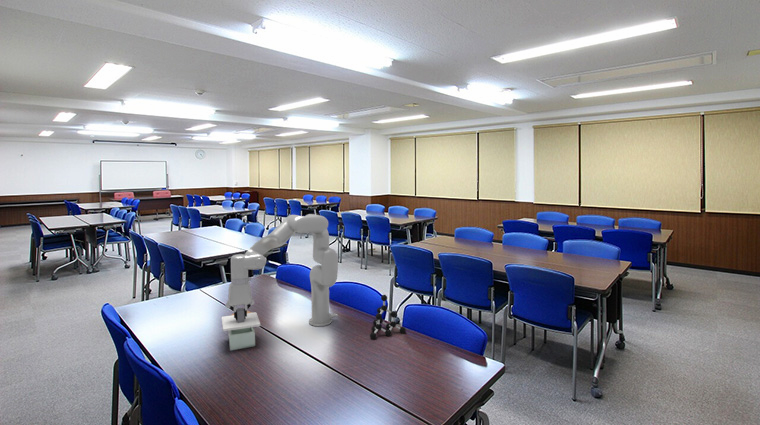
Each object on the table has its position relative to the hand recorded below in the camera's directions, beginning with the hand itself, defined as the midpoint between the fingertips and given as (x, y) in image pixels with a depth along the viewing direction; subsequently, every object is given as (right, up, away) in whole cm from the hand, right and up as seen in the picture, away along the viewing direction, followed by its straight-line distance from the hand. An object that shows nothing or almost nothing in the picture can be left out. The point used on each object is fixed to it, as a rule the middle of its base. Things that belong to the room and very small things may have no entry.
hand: (240, 318), depth 177 cm
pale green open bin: (0, -12, +1) cm, 13 cm away
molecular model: (+67, -12, +14) cm, 69 cm away
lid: (0, -2, 0) cm, 2 cm away
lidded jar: (-6, -11, +18) cm, 22 cm away
